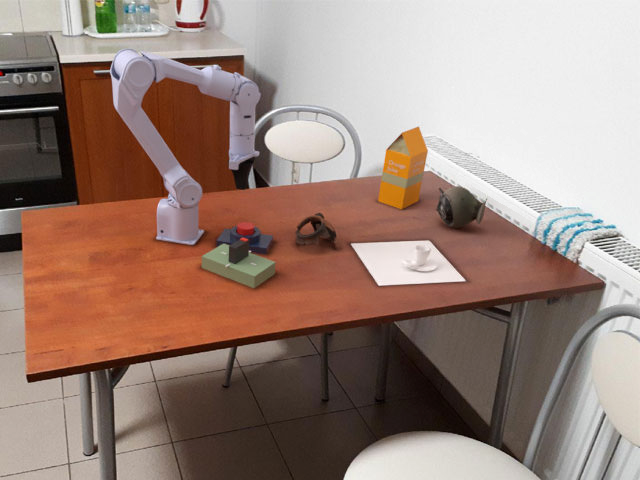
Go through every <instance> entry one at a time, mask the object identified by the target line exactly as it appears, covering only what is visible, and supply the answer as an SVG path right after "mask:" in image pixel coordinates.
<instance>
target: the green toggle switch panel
mask: <svg viewBox="0 0 640 480" xmlns="http://www.w3.org/2000/svg"><path fill="white" fill-rule="evenodd" d="M229 246H230V245H227V244H222V245H220V246H219V247H215V248H213V249H211V250H210V251H208V252H206V253H205V254H203V255H202V256H201V268H202V269H203V270H206V271H209V272H211V273H214V274H216V275H219V276H221V277H224V278H226V279H228V280H232V281H234V282H237V283H239V284H242V285H243V286H248V287H250V288H252V289H256V288H257V287H259V286H260V285H261V284H263V283H265V281H268V279H270V278H271V277H273V276H274V275H275V274H276V264H277V262H276V261H274V260H271V259H268V258H265V257H262V256H260V255H257V254H256V253H253V252H251V251H249V256H247V257H246V258H244V259H243V260H241V261H239V262H238V263H236V264H233V263H231V262H228V261H229Z"/></svg>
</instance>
